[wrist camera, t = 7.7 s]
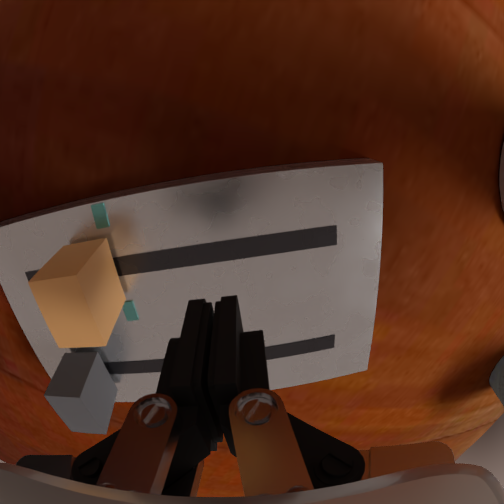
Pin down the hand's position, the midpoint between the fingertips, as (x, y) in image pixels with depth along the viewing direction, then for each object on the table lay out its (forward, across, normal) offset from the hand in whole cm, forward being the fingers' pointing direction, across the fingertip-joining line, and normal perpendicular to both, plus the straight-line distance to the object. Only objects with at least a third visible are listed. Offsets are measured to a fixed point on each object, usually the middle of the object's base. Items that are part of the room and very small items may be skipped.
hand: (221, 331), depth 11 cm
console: (+9, +4, +4) cm, 11 cm away
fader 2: (+6, +12, +8) cm, 15 cm away
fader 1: (+6, +8, 0) cm, 10 cm away
